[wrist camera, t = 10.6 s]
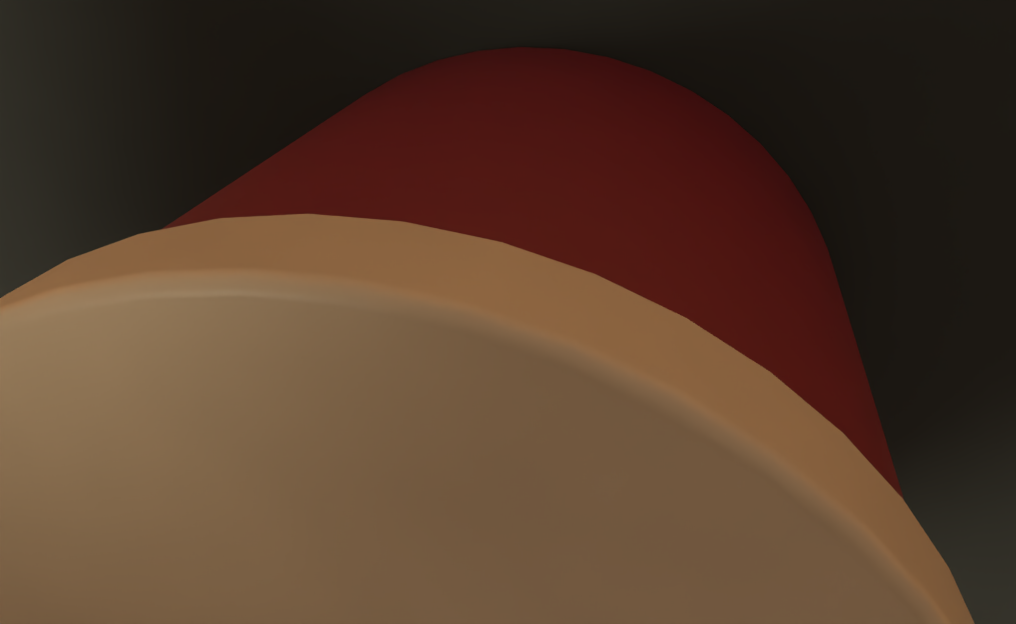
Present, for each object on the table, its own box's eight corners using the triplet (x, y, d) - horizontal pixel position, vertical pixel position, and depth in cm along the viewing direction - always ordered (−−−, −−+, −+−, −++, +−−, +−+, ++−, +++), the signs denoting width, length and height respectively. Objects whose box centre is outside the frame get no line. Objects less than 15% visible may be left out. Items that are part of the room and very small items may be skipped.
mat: (1660, 456, 9) (1699, 480, 9) (786, 946, 14) (789, 974, 14) (33, -891, 7) (-1, -931, 7) (-261, 257, 13) (-289, 268, 12)
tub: (1009, 308, 9) (1424, 929, 4) (595, 669, 12) (506, 1294, 7) (446, -124, 8) (-4, -104, 3) (158, 373, 11) (-319, 812, 6)
